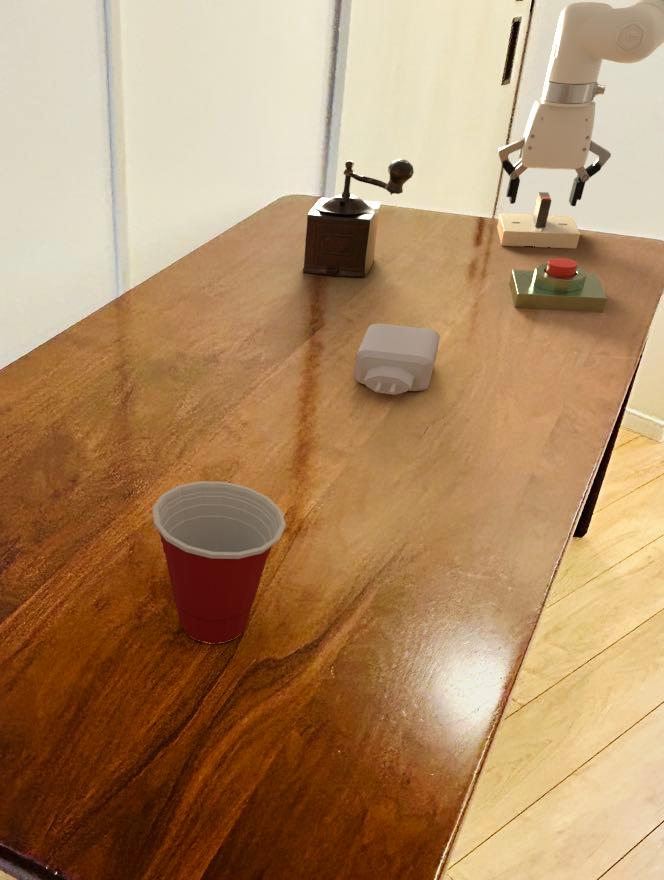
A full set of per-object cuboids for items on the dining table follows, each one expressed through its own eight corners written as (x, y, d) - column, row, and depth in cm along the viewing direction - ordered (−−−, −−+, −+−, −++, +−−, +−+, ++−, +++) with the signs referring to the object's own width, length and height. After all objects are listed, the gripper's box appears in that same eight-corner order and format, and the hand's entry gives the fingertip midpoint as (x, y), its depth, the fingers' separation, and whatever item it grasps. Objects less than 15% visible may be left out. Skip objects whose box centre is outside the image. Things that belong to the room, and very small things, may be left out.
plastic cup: (295, 653, 76) (307, 539, 69) (172, 676, 75) (170, 562, 68) (254, 576, 85) (260, 468, 78) (142, 595, 83) (138, 486, 76)
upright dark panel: (532, 218, 158) (538, 190, 155) (542, 218, 158) (548, 190, 155) (535, 227, 154) (541, 198, 151) (545, 227, 154) (551, 199, 151)
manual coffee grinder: (299, 274, 148) (308, 158, 137) (314, 252, 156) (323, 141, 145) (396, 283, 143) (413, 163, 132) (406, 260, 151) (422, 146, 141)
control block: (592, 287, 138) (599, 261, 136) (602, 312, 131) (610, 286, 128) (509, 283, 141) (514, 258, 139) (514, 307, 133) (520, 281, 131)
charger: (343, 404, 111) (364, 355, 123) (420, 415, 108) (435, 363, 120) (347, 369, 109) (368, 322, 120) (426, 379, 106) (441, 329, 117)
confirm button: (572, 270, 135) (575, 258, 134) (576, 279, 132) (579, 268, 131) (544, 268, 136) (546, 257, 135) (547, 278, 133) (549, 266, 132)
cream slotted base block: (568, 230, 160) (572, 214, 158) (576, 248, 152) (580, 232, 151) (497, 227, 163) (500, 212, 161) (501, 245, 155) (504, 230, 153)
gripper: (622, 89, 145) (593, 198, 155) (508, 87, 149) (486, 194, 159) (631, 98, 139) (599, 211, 149) (512, 96, 143) (489, 207, 153)
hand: (541, 202), depth 154 cm, fingers open, 9 cm apart
